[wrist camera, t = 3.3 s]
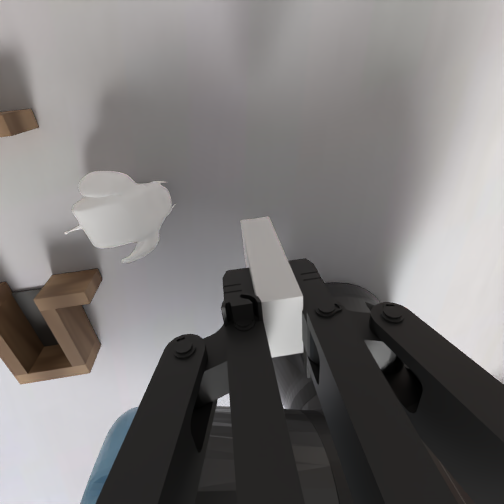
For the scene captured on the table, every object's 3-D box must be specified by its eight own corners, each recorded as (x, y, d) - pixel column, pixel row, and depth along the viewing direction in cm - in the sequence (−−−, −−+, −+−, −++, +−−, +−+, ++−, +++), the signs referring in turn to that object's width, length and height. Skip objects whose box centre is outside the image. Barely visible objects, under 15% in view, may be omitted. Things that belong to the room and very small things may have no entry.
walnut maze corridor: (31, 108, 21) (1, 114, 18) (128, 340, 32) (119, 368, 29) (-141, 127, 20) (-201, 136, 17) (20, 358, 32) (0, 387, 29)
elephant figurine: (190, 220, 27) (186, 255, 22) (103, 247, 27) (79, 288, 22) (157, 142, 23) (143, 161, 18) (58, 174, 23) (16, 202, 18)
